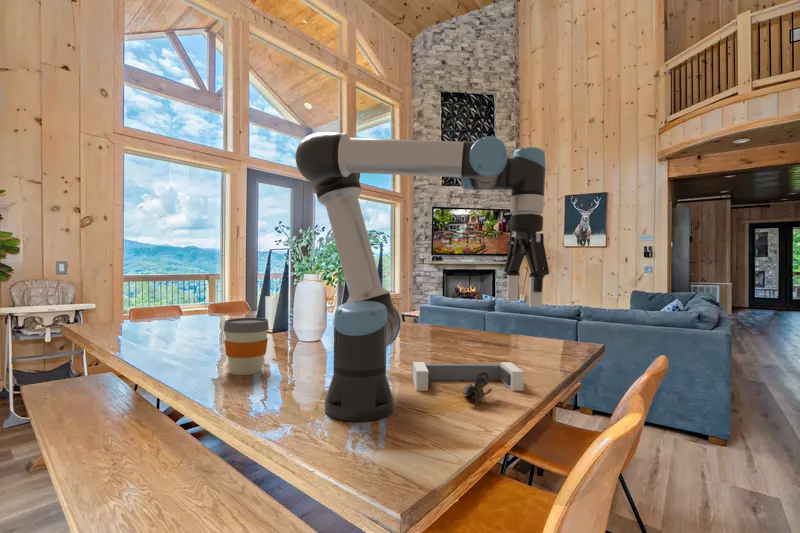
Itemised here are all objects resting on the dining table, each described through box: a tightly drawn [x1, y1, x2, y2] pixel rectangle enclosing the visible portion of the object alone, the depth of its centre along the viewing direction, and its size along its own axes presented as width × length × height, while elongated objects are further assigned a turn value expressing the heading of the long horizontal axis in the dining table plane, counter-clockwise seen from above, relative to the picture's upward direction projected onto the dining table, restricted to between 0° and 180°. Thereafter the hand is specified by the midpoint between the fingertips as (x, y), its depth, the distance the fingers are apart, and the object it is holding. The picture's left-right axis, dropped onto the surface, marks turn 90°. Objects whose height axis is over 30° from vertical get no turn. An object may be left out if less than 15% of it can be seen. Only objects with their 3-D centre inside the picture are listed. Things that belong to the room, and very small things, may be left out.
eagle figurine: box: [462, 372, 493, 407], centre depth 96 cm, size 8×7×9 cm
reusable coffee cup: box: [223, 317, 270, 376], centre depth 119 cm, size 13×13×15 cm
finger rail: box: [411, 361, 525, 392], centre depth 109 cm, size 28×12×5 cm, turn 93°
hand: (522, 303), depth 96 cm, fingers open, 13 cm apart
